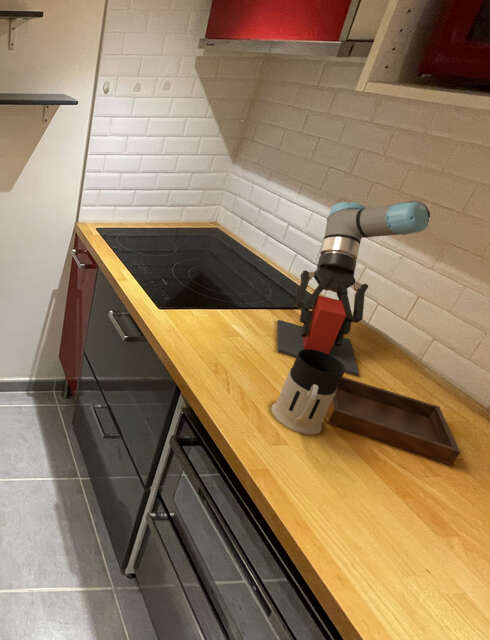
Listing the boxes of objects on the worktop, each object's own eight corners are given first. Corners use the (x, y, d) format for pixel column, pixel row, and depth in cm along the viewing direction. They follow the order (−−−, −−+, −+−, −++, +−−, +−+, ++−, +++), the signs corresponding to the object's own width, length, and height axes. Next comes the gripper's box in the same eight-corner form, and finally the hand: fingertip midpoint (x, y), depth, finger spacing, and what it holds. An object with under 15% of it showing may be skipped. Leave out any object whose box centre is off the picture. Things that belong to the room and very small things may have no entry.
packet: (325, 339, 117) (342, 300, 113) (328, 355, 111) (346, 315, 106) (302, 333, 120) (317, 295, 115) (303, 348, 114) (320, 309, 109)
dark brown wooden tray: (431, 419, 94) (439, 406, 93) (451, 466, 84) (460, 452, 82) (322, 384, 103) (328, 372, 102) (327, 422, 93) (334, 409, 91)
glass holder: (322, 415, 94) (349, 359, 88) (318, 459, 84) (348, 399, 78) (274, 396, 99) (296, 341, 93) (264, 435, 89) (288, 377, 83)
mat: (348, 341, 118) (350, 339, 118) (357, 376, 106) (358, 373, 106) (277, 321, 126) (278, 319, 126) (277, 351, 114) (278, 349, 113)
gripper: (379, 272, 116) (364, 356, 110) (290, 253, 125) (272, 330, 119) (392, 262, 109) (376, 351, 104) (297, 243, 119) (278, 323, 113)
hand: (320, 339), depth 111 cm, fingers open, 6 cm apart
